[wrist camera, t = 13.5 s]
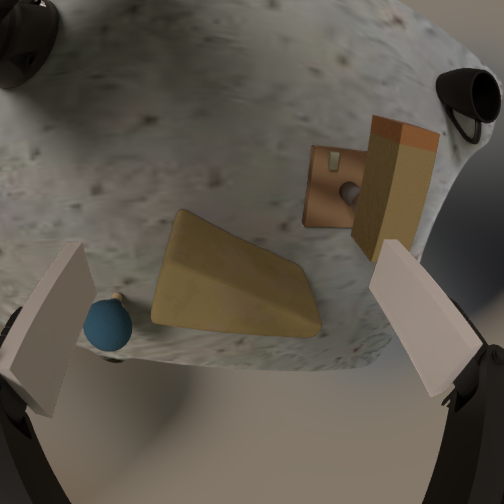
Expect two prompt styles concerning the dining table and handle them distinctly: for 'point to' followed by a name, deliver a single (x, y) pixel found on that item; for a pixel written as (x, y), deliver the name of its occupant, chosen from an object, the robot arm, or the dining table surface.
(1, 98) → the dining table surface
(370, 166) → the two-tone wooden block
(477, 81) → the mug
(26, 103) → the dining table surface
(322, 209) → the wooden base plate
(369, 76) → the dining table surface
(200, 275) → the cheese
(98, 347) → the light bulb
